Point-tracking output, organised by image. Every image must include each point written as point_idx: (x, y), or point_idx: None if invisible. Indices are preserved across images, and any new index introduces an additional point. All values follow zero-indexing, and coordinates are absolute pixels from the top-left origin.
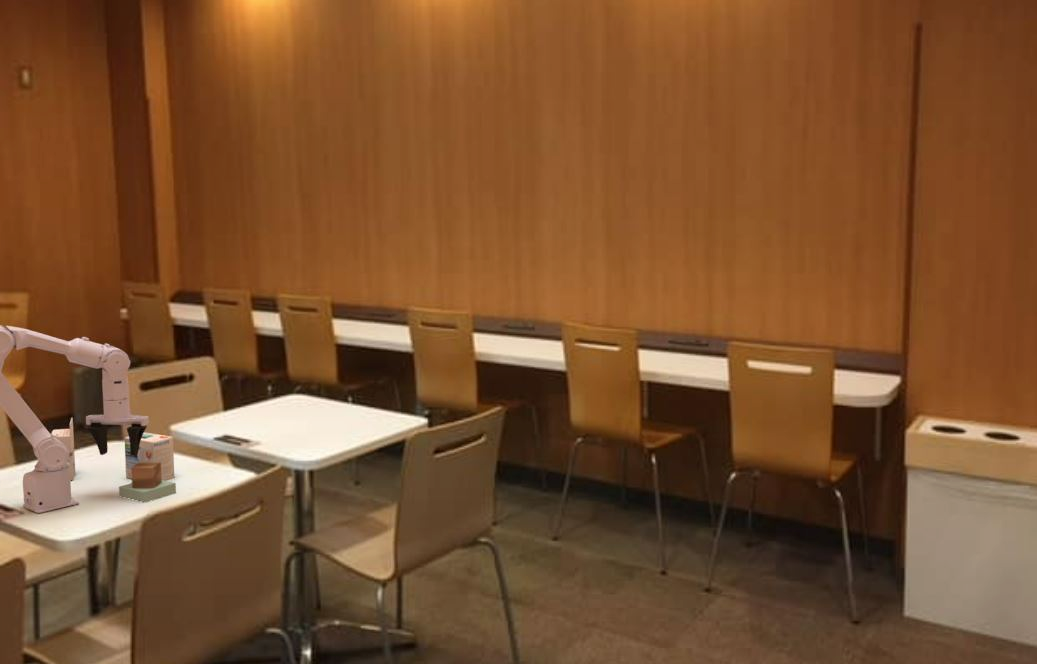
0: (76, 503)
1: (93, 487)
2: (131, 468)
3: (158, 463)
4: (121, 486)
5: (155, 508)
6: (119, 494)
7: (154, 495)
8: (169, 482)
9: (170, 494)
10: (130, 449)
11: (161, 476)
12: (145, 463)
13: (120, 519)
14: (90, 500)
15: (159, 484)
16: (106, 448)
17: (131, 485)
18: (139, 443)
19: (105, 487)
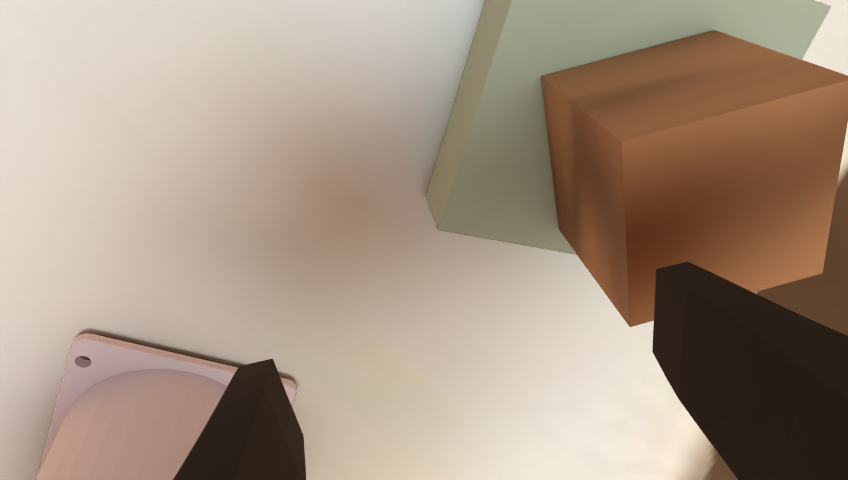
0: (292, 397)
1: (31, 64)
2: (627, 322)
3: (842, 133)
4: (452, 219)
5: None
6: (429, 203)
7: None
8: (777, 9)
9: None
10: (700, 424)
11: (748, 43)
12: (706, 179)
13: (649, 446)
14: (299, 309)
15: None
16: (270, 412)
17: (512, 176)
18: (807, 328)
19: (132, 32)
